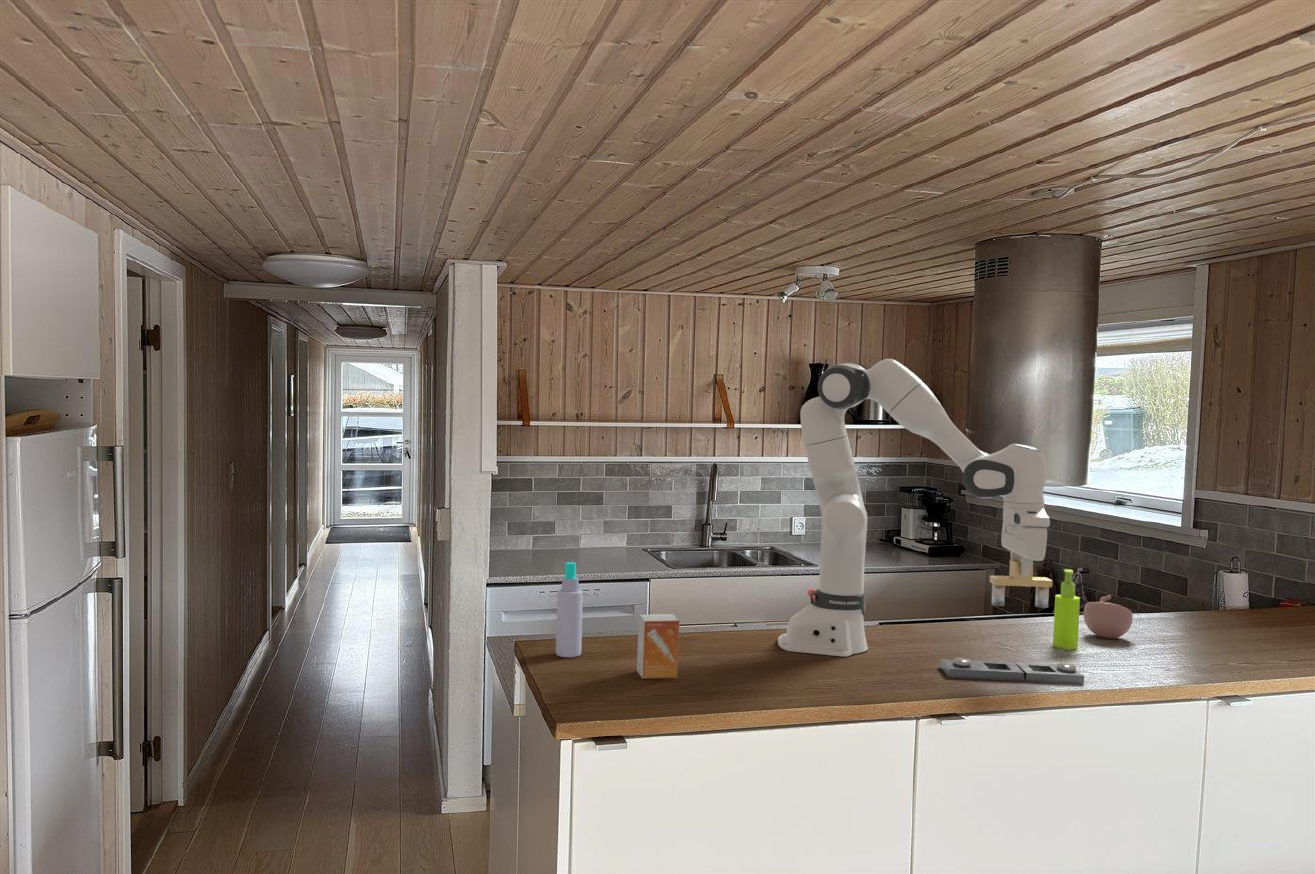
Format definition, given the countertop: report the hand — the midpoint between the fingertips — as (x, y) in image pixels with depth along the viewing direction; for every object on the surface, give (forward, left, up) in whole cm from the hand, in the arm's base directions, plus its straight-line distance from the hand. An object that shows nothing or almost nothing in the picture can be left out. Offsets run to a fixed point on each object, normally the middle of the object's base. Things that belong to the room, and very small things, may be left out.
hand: (1020, 573), depth 215 cm
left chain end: (-9, -3, -23) cm, 25 cm away
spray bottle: (-105, -4, -24) cm, 108 cm away
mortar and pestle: (+36, +38, -24) cm, 57 cm away
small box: (-83, -16, -24) cm, 88 cm away
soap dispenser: (+21, +27, -24) cm, 42 cm away
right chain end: (+6, -3, -23) cm, 24 cm away
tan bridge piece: (0, 0, -8) cm, 8 cm away
